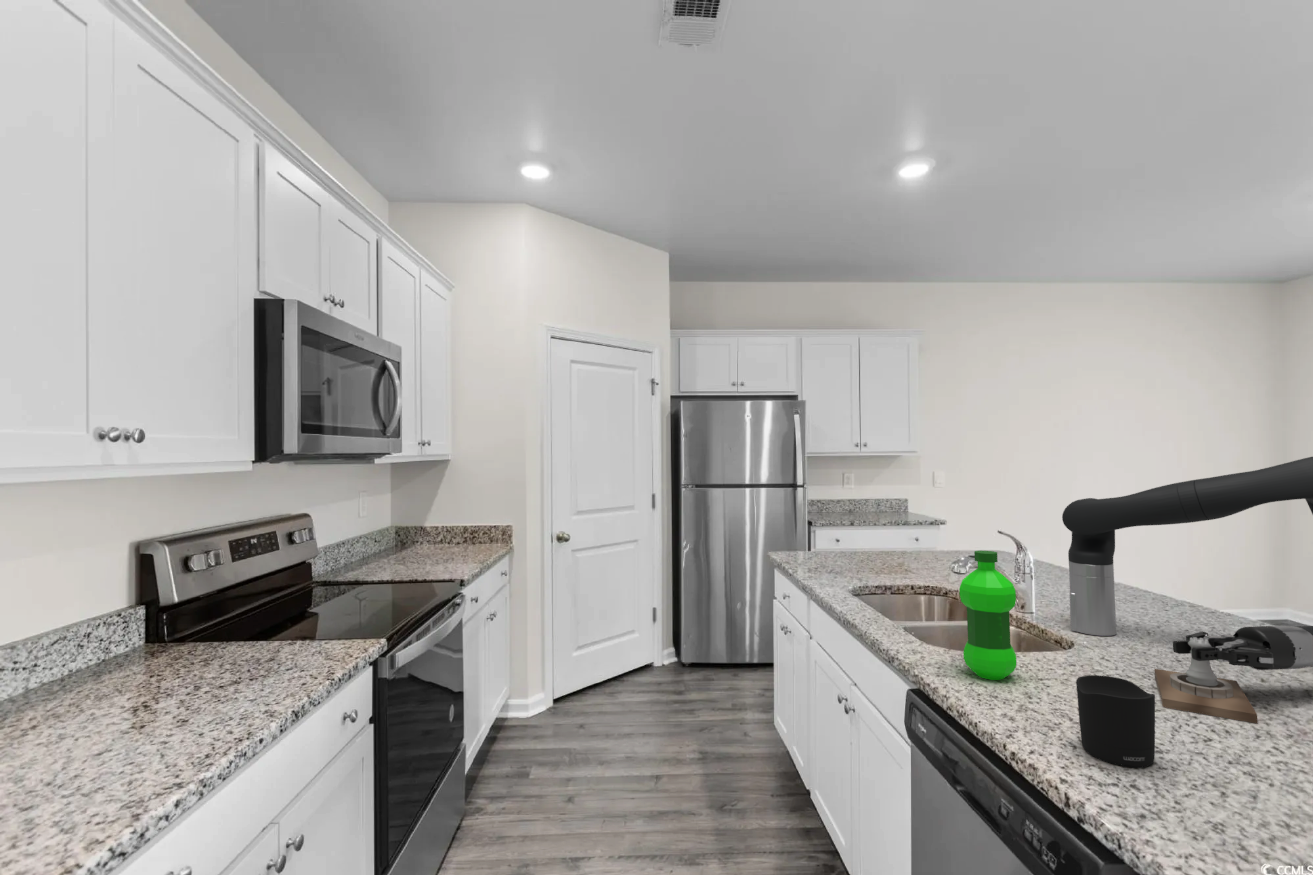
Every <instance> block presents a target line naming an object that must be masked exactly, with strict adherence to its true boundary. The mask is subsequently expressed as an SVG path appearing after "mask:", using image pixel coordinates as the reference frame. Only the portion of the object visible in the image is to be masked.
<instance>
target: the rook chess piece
mask: <svg viewBox="0 0 1313 875" xmlns="http://www.w3.org/2000/svg"><path fill="white" fill-rule="evenodd" d="M1188 644H1189V646H1190V647H1191V651H1190V653H1189V654H1190V655H1191V658H1190V665H1189V667H1188V669H1187V670H1186V671H1185V673H1186V675H1187V676H1188V677H1186V680H1187V681H1188V682H1189V683H1191V684H1193V685H1197V686H1203V687H1216V686H1217V685H1218V682H1216V680H1217V678H1218V677H1217V675H1216V673H1215V672H1214V670H1213V669H1212V666H1211V660H1209V661H1197V660H1194V659H1193V658H1192V648H1193V647H1211V645H1210V644H1209V643H1208V640H1207V639H1205V641H1203V638H1200V640H1197V637H1193V638H1190V641H1189V642H1188Z"/></svg>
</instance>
